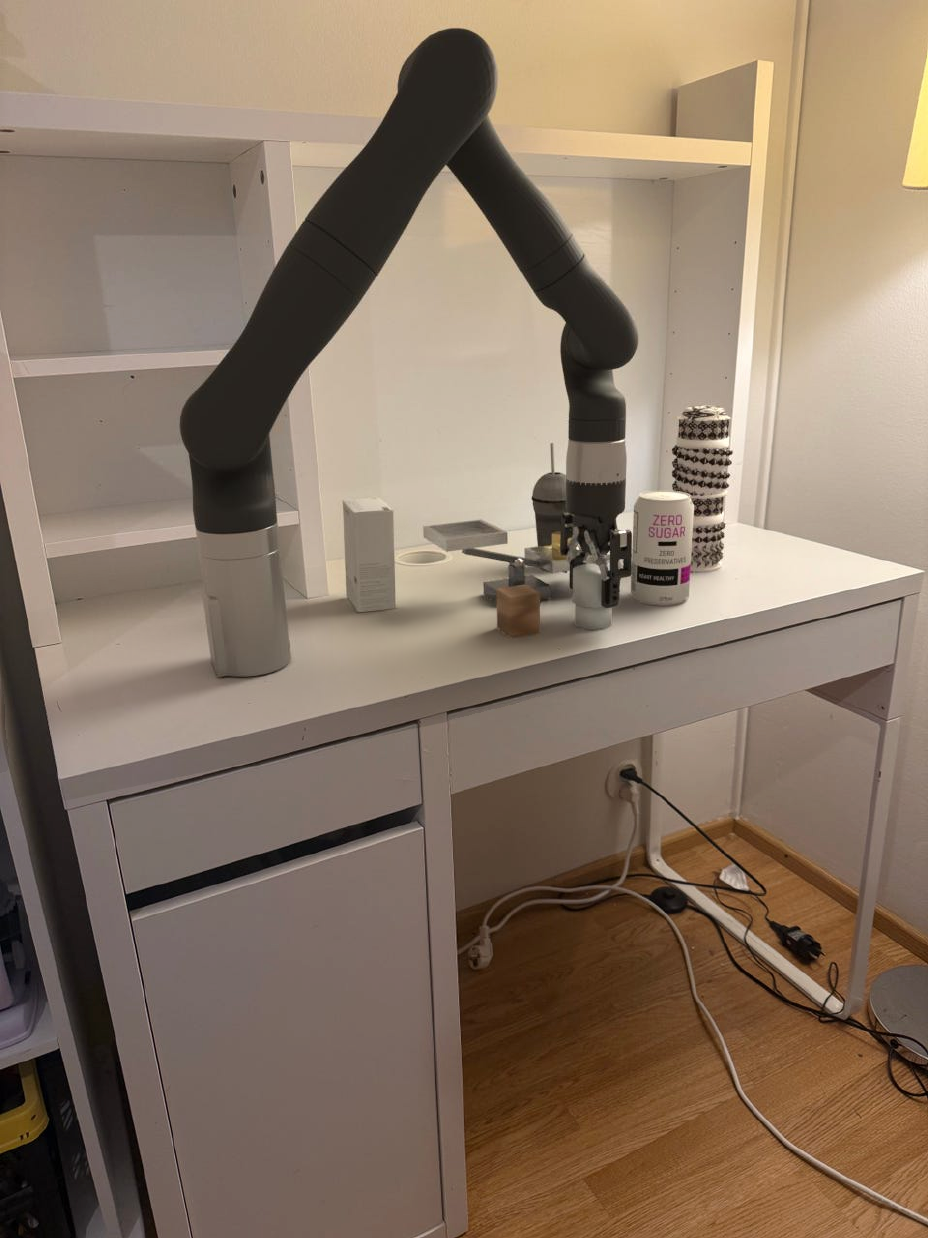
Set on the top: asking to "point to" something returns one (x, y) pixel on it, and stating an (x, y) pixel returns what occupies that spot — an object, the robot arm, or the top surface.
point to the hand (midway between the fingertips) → (593, 597)
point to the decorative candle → (704, 479)
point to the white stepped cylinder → (589, 598)
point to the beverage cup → (549, 503)
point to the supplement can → (662, 547)
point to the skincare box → (369, 554)
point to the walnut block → (518, 611)
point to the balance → (487, 534)
